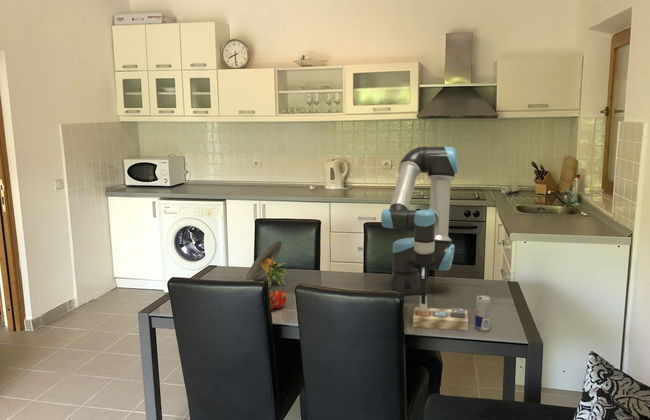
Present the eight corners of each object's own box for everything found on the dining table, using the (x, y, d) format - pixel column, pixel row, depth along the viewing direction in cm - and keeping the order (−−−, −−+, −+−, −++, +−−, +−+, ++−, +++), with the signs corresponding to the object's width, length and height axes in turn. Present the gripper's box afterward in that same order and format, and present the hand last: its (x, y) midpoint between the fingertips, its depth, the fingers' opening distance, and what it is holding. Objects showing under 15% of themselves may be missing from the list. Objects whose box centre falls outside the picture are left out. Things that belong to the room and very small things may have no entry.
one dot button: (416, 320, 206) (416, 313, 205) (417, 315, 210) (417, 309, 209) (428, 321, 205) (428, 314, 204) (429, 316, 209) (429, 309, 208)
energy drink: (475, 324, 204) (476, 294, 201) (490, 326, 202) (491, 295, 200) (474, 330, 199) (475, 299, 196) (490, 331, 197) (491, 300, 195)
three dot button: (434, 321, 204) (434, 314, 204) (434, 316, 208) (434, 310, 208) (446, 322, 203) (446, 315, 203) (446, 317, 207) (446, 311, 207)
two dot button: (451, 318, 202) (452, 312, 202) (451, 314, 207) (452, 307, 206) (464, 319, 201) (464, 312, 201) (463, 315, 206) (464, 308, 205)
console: (412, 326, 203) (413, 317, 202) (414, 315, 214) (414, 307, 213) (467, 330, 199) (467, 321, 198) (466, 318, 209) (467, 310, 208)
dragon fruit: (265, 316, 220) (283, 310, 231) (279, 307, 216) (296, 302, 226) (256, 297, 223) (274, 292, 233) (270, 288, 219) (287, 284, 229)
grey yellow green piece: (254, 309, 243) (286, 272, 234) (230, 280, 247) (261, 243, 239) (282, 297, 265) (312, 264, 256) (260, 271, 270) (289, 237, 261)
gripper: (415, 246, 209) (414, 303, 214) (412, 255, 197) (412, 316, 201) (434, 247, 207) (433, 305, 212) (433, 256, 195) (432, 317, 200)
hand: (423, 310), depth 207 cm, fingers closed
